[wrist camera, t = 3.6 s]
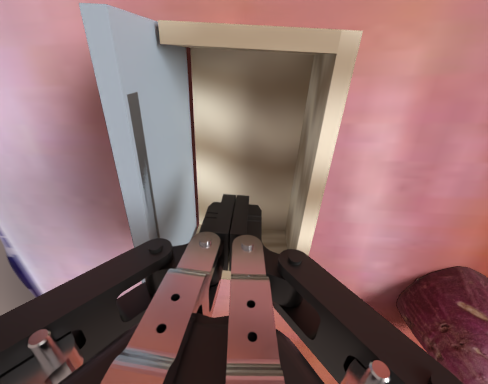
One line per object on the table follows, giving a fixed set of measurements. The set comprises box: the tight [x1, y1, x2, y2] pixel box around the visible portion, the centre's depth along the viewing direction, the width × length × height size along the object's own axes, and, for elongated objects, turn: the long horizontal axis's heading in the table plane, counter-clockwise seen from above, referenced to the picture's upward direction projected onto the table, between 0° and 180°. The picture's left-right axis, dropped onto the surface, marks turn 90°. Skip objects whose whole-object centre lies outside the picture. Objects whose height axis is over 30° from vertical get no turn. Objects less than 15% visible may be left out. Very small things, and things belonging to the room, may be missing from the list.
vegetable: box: [397, 267, 488, 384], centre depth 25 cm, size 10×10×15 cm
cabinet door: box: [79, 3, 197, 283], centre depth 17 cm, size 18×1×10 cm, turn 177°
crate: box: [158, 20, 363, 280], centre depth 19 cm, size 18×10×7 cm, turn 177°
